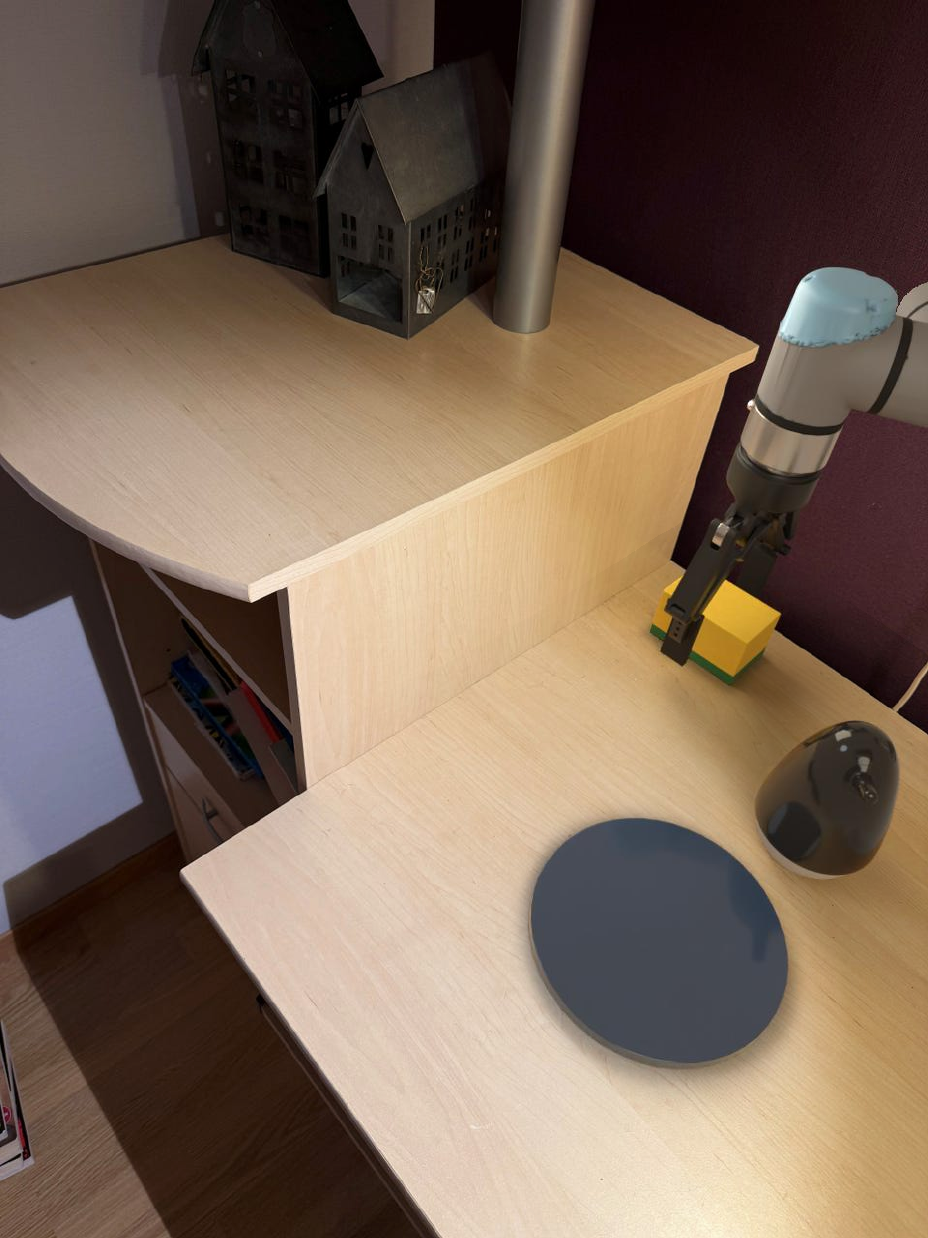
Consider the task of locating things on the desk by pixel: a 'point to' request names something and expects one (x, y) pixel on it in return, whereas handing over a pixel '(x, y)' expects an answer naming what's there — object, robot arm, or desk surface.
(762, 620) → the sponge
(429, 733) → the desk surface
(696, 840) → the plate
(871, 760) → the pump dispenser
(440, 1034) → the desk surface
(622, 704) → the desk surface
